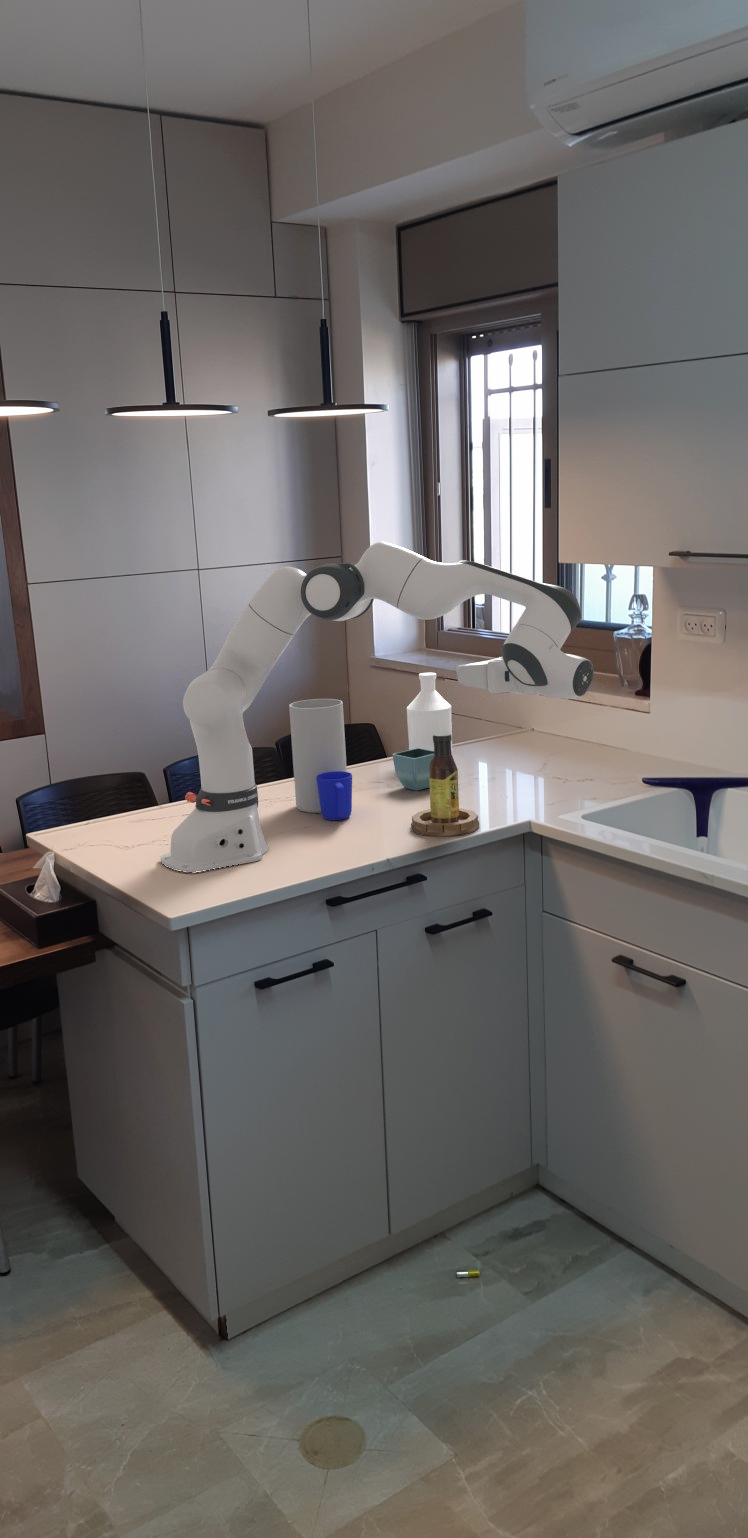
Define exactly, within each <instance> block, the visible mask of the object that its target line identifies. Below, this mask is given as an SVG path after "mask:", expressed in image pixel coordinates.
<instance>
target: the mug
mask: <svg viewBox="0 0 748 1538" xmlns="http://www.w3.org/2000/svg"><path fill="white" fill-rule="evenodd" d="M316 779H317V786H318V793H319V800H320V807H321V813H320V814H321V816H322V817H323V819H324V820H328V821H341V820H346V819H348V818H349V817H350V816H351V815H352V810H353V809H352V807H353V806H352V805H353V804H352V803H353V801H352V800H353V774H352V773H351V772H350V771H349V772H348V771H347V772H343V771H334V772H326V773H322V774H319V775H317V777H316Z"/></svg>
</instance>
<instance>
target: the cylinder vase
mask: <svg viewBox="0 0 748 1538" xmlns="http://www.w3.org/2000/svg"><path fill="white" fill-rule="evenodd" d="M343 704H344V703H343V701H342V700H341V699H340V700H339V699H335V698H314V699H312V698H311V699H305V700H299V701H294V702H292V703H290V704H289V705H288V706H289V708H288V709H289V710H288V711H289V722H290V735H291V736H290V737H291V751H292V765H293V779H294V790H295V791H294V794H295V806H296V808H297V810H299V811H301V812H303V813H309V814H322V813H321V807H320V800H319V793H318V786H317V779H316V777H317V775H319V774H322V773H326V772H334V771H343V772H348V771H347V755H346V754H347V753H346V737H345V721H344V719H345V718H344V705H343Z"/></svg>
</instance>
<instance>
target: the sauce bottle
mask: <svg viewBox="0 0 748 1538" xmlns="http://www.w3.org/2000/svg"><path fill="white" fill-rule="evenodd" d="M451 740H452V741H453V737H452V738H451V734H449V733H437V734H433V742H434V757H433V759H432V760H431V763H430V768H429V770H430V777H429V782H430V787H429V802H430V803H429V804H430V806H429V807H430V810H431V818H432V820H431V821H432V823H443V824H444V823H455V822H459V808H460V801H459V800H460V799H459V796H460V795H459V773H458V772H459V769H458V767H457V764H456V762H455V759H454V756H453V750H452V751H451Z"/></svg>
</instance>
